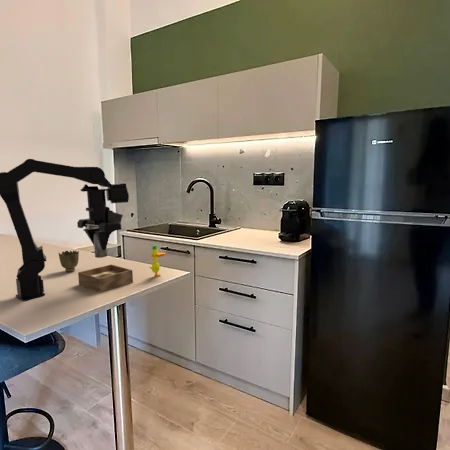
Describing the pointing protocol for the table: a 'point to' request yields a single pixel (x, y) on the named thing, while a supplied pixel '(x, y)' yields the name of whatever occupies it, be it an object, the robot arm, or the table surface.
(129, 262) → the table surface
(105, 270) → the walnut box
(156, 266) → the toy figure
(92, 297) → the table surface
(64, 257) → the cup
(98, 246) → the metal peg
